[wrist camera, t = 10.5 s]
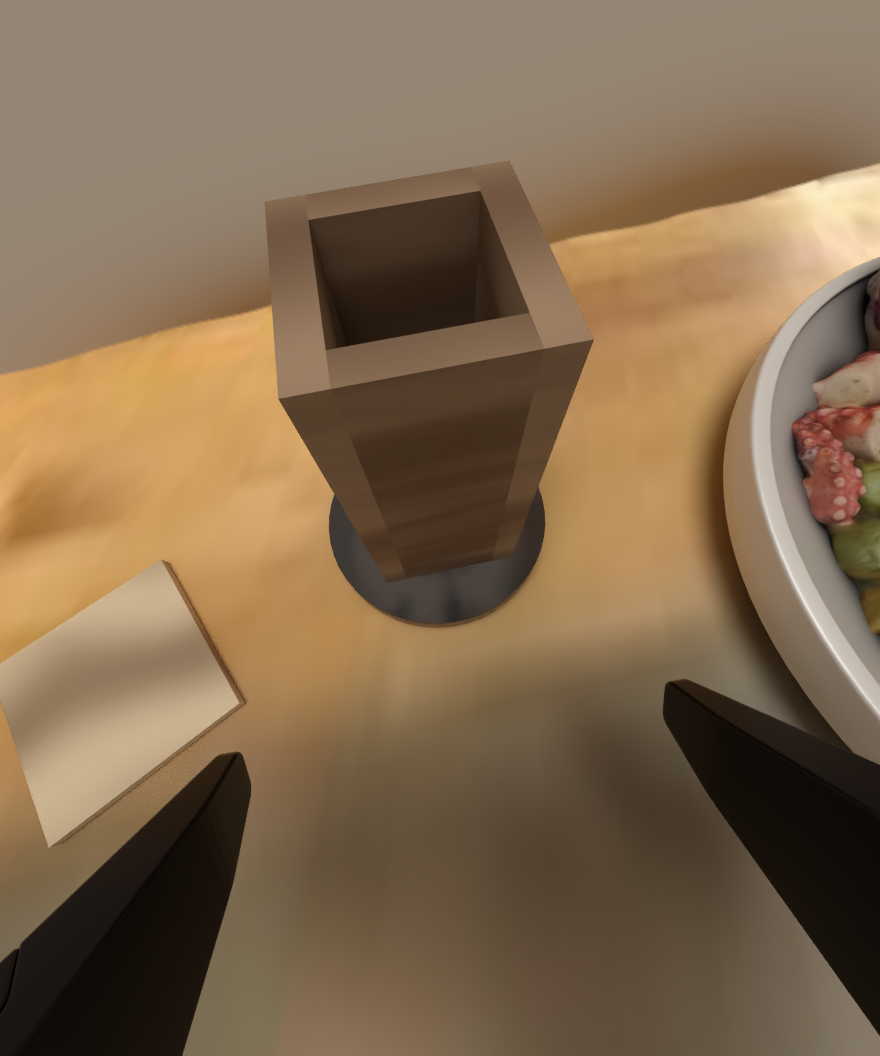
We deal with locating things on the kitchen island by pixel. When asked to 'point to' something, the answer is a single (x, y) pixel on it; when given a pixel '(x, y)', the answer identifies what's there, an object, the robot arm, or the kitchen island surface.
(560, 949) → the kitchen island surface
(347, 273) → the collar
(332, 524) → the hub
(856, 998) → the robot arm
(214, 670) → the cork pad
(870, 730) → the bowl
